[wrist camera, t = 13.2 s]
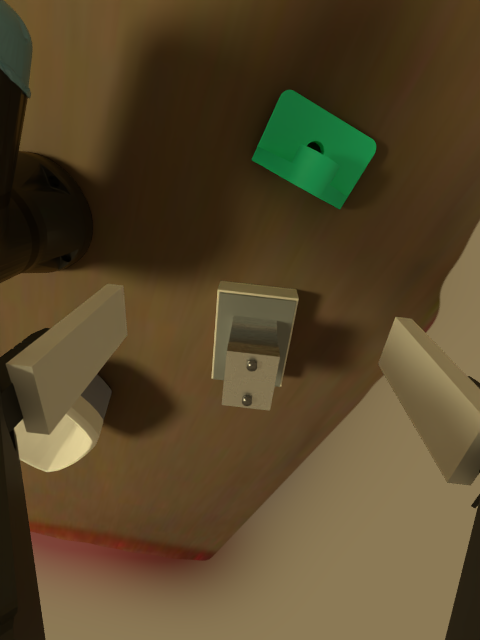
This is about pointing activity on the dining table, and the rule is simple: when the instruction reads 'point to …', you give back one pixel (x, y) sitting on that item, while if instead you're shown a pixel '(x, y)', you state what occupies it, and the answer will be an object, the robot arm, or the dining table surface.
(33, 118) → the dining table surface
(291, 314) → the plinth
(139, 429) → the dining table surface
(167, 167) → the dining table surface
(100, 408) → the bowl
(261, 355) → the housing
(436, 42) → the dining table surface
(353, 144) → the camera mount
